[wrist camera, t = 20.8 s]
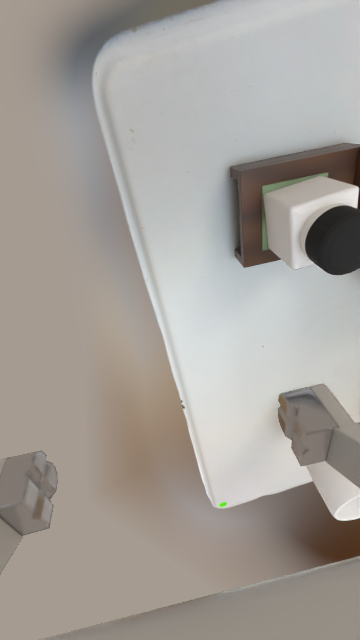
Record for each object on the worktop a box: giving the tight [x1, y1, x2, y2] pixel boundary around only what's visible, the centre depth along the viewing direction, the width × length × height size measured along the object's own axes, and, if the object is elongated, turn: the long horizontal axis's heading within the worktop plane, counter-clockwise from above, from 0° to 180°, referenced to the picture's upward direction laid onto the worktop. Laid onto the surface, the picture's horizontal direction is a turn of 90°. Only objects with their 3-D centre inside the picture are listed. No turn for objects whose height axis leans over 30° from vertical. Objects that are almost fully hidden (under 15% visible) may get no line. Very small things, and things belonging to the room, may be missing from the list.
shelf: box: [230, 143, 360, 268], centre depth 38 cm, size 12×15×6 cm
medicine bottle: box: [264, 176, 360, 275], centre depth 32 cm, size 7×7×12 cm
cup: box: [306, 461, 360, 521], centre depth 57 cm, size 10×10×22 cm
